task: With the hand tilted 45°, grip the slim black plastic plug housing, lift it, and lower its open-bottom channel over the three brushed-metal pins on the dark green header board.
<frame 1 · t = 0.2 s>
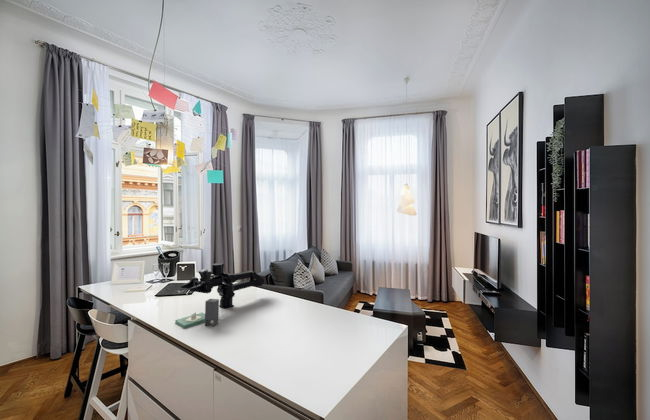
hand: (185, 288, 142), 16 cm above the table, tool horizontal, fingers open, 9 cm apart
plug housing: (211, 324, 135), on the table
header board: (193, 321, 139), on the table
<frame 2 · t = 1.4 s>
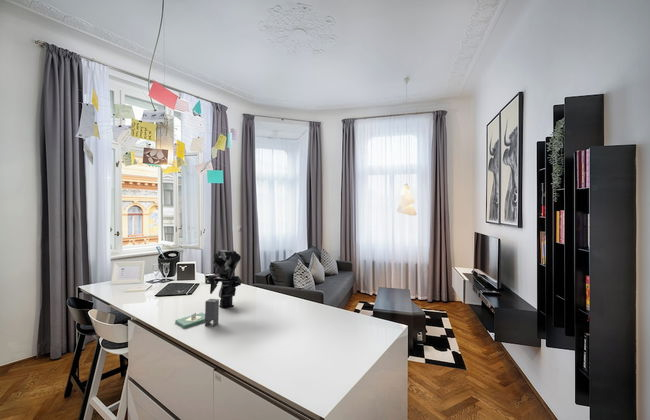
hand: (218, 293, 143), 14 cm above the table, tool tilted 45°, fingers open, 9 cm apart
nothing on the table moved.
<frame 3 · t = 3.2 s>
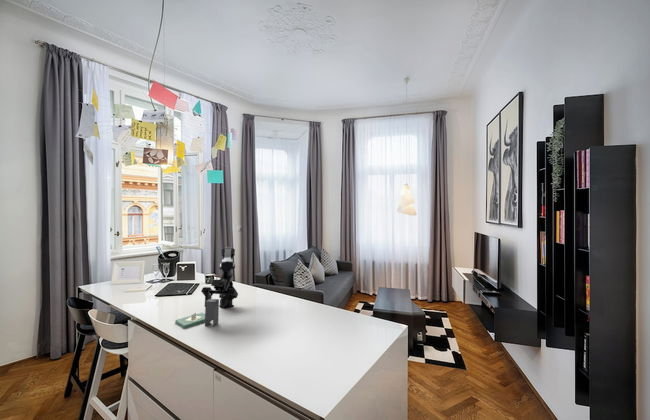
hand: (213, 307, 136), 8 cm above the table, tool tilted 45°, fingers open, 9 cm apart
nothing on the table moved.
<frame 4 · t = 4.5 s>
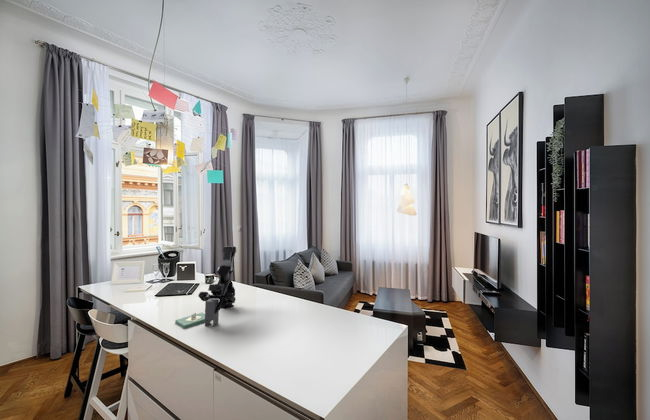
hand: (210, 312, 134), 7 cm above the table, tool tilted 45°, fingers closed on plug housing, 5 cm apart
plug housing: (211, 324, 135), on the table, touching gripper
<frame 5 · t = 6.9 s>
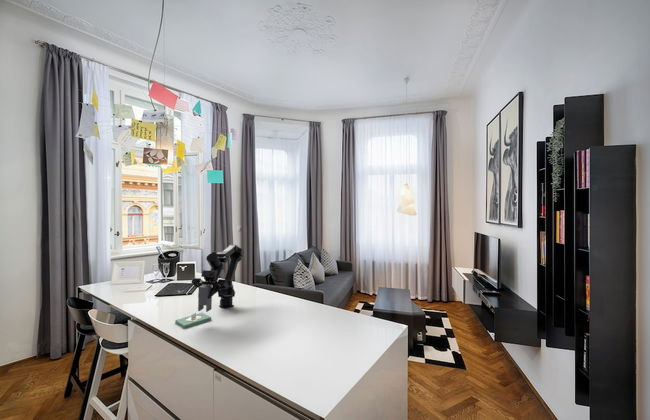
hand: (203, 298, 135), 13 cm above the table, tool tilted 45°, fingers closed on plug housing, 5 cm apart
plug housing: (204, 310, 137), point 7 cm above the table, touching gripper
when the fingers open (9 cm above the table, at t = 9.1 s): plug housing stays where it is, resting on header board.
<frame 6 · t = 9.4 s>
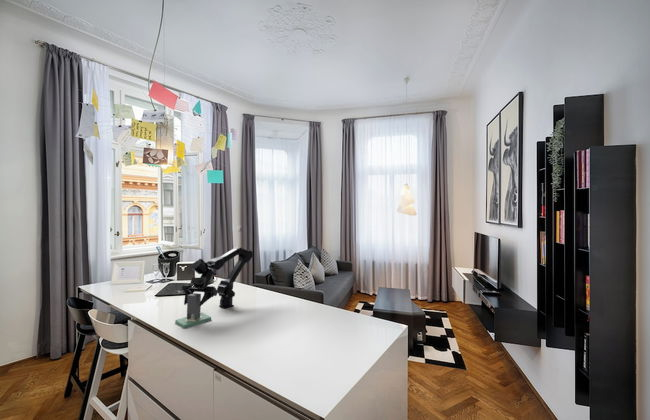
hand: (192, 305, 137), 9 cm above the table, tool tilted 45°, fingers open, 8 cm apart
plug housing: (193, 318, 139), point 2 cm above the table, touching header board
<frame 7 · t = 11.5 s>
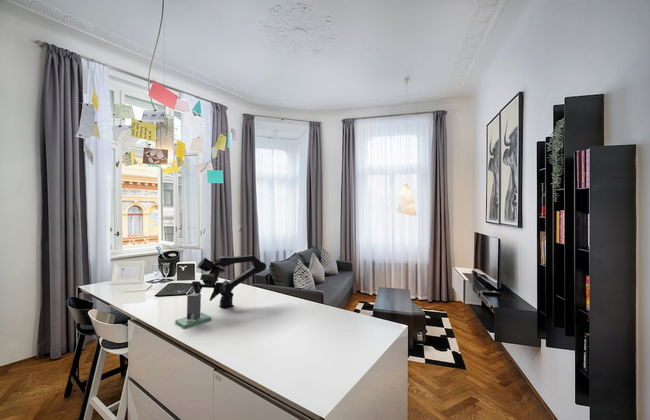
hand: (202, 300, 146), 9 cm above the table, tool tilted 45°, fingers open, 9 cm apart
nothing on the table moved.
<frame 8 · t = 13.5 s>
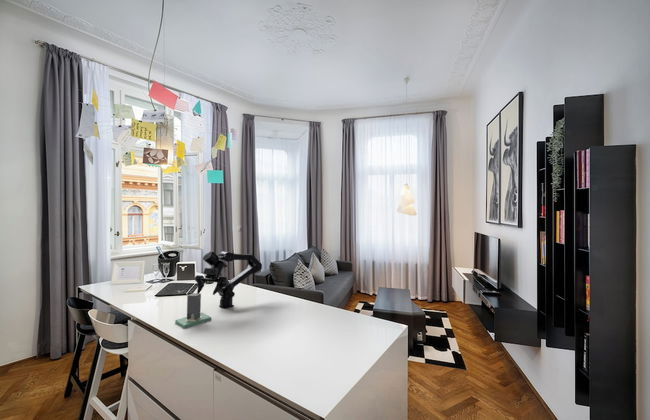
hand: (205, 294, 145), 13 cm above the table, tool tilted 45°, fingers open, 9 cm apart
nothing on the table moved.
at the end: plug housing 0.0 cm off-centre on the header board, point 1.6 cm above the header board's base; plug housing tilted 0°; the gripper is holding nothing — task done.
